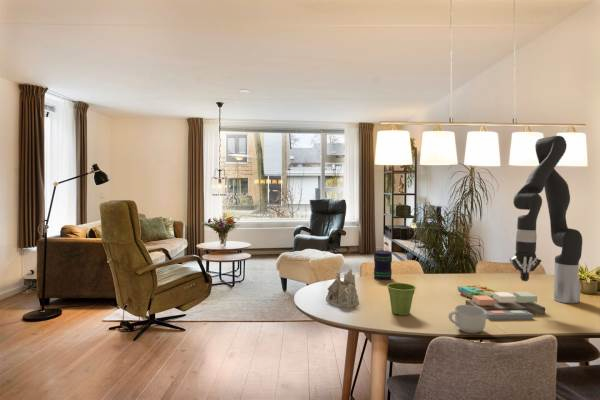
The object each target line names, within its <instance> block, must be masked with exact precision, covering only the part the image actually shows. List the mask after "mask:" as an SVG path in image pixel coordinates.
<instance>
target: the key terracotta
mask: <svg viewBox="0 0 600 400" xmlns="http://www.w3.org/2000/svg"><path fill="white" fill-rule="evenodd" d="M471 300H472V301H473V302H475V303H476V304H478V305H479V306H487V305H495V300H494V299H493V298H491V297H489V296H487V295H485V296H472V298H471Z"/></svg>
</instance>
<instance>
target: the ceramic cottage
mask: <svg viewBox="0 0 600 400" xmlns="http://www.w3.org/2000/svg"><path fill="white" fill-rule="evenodd" d="M335 276H336V278H335V279H334V281H333V282H332V283H331V284H329V286H328V287H327V290H328V292H327V294H326V297H325V301H326V302H328V303H329V304H330V305H333V306H334V307H337V308H343V309H344V308H346V309H351V308H353V307H354V308H355V307H356V306H358V305H359V304H360V300H359V295H358V294H357V293H358V290H357V288H356V279H355V278H356V277H355V276H356V274H353V269H352V268H350V269H349V270H348V271H347V273H344V276H343V281H342V280H341V272H339V271H337V272H336V275H335Z"/></svg>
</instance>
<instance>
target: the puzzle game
mask: <svg viewBox="0 0 600 400" xmlns="http://www.w3.org/2000/svg"><path fill="white" fill-rule="evenodd" d="M457 291H458V292H459V293H460V294H461V295H462V296H464V297H467V298H469V299H472V296H485V295H487V296H489V297H491V298H493V292H498V291H497V290H494V289H491V288H488V287H487V286H484V285H483V286H482V285H480V284H476V285H462V286H457ZM493 299H494V298H493ZM494 300H496V299H494Z"/></svg>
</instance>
